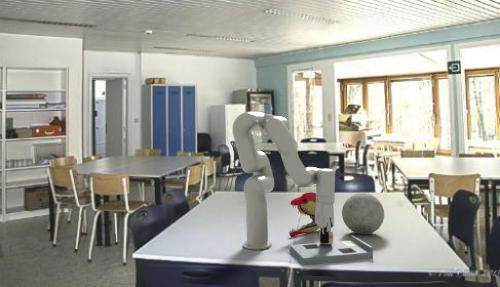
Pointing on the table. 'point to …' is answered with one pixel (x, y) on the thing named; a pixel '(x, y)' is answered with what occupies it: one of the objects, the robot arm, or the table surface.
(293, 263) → the table surface
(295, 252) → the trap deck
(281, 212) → the table surface
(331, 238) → the beech cube
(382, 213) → the decorative sphere
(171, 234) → the table surface
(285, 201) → the table surface
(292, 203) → the toy
